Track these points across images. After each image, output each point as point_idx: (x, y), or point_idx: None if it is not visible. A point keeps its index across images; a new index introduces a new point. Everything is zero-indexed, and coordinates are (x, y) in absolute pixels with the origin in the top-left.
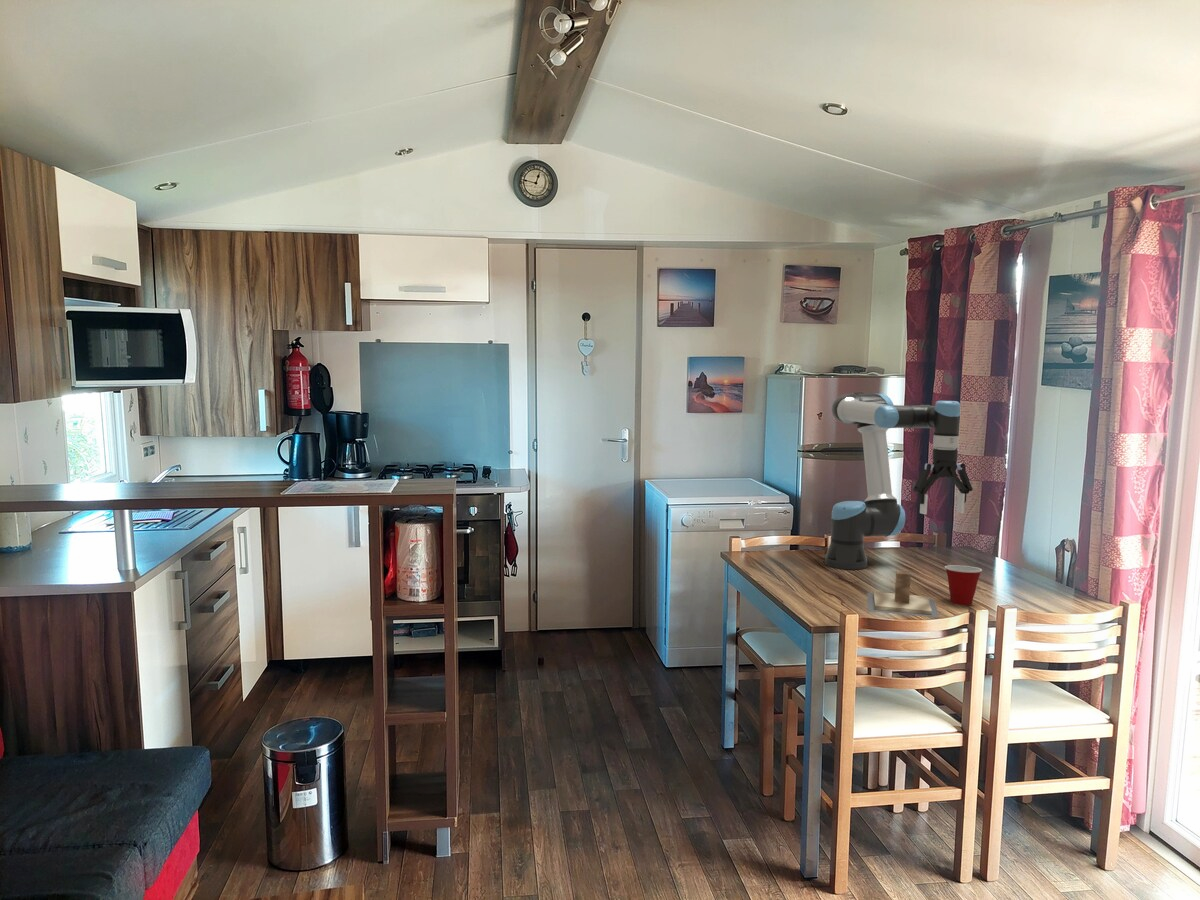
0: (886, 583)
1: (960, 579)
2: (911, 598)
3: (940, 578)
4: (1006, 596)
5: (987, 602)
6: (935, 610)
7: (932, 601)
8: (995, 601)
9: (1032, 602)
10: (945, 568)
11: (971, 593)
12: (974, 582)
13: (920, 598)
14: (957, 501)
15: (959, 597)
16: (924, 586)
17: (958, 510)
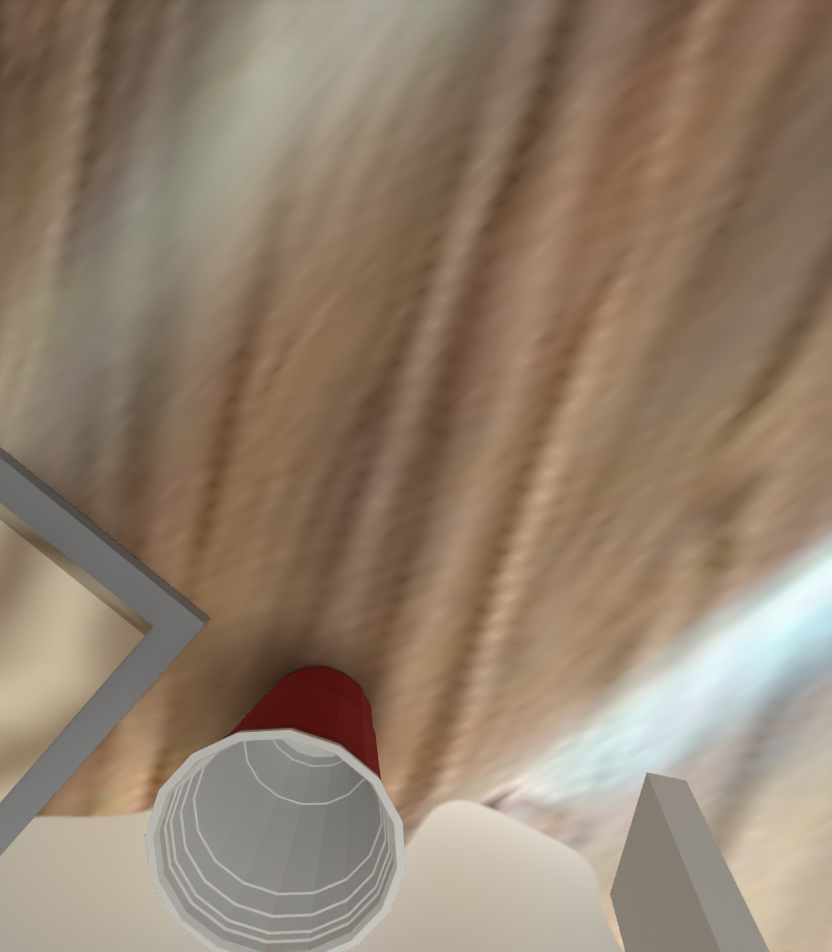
0: (218, 186)
1: (208, 859)
2: (24, 628)
3: (697, 225)
4: (712, 702)
5: (496, 739)
6: (62, 771)
7: (166, 652)
8: (557, 744)
9: (738, 831)
10: (161, 789)
11: (306, 822)
12: (300, 882)
13: (76, 647)
14: (699, 934)
15: (258, 769)
16: (414, 347)
17: (642, 843)
